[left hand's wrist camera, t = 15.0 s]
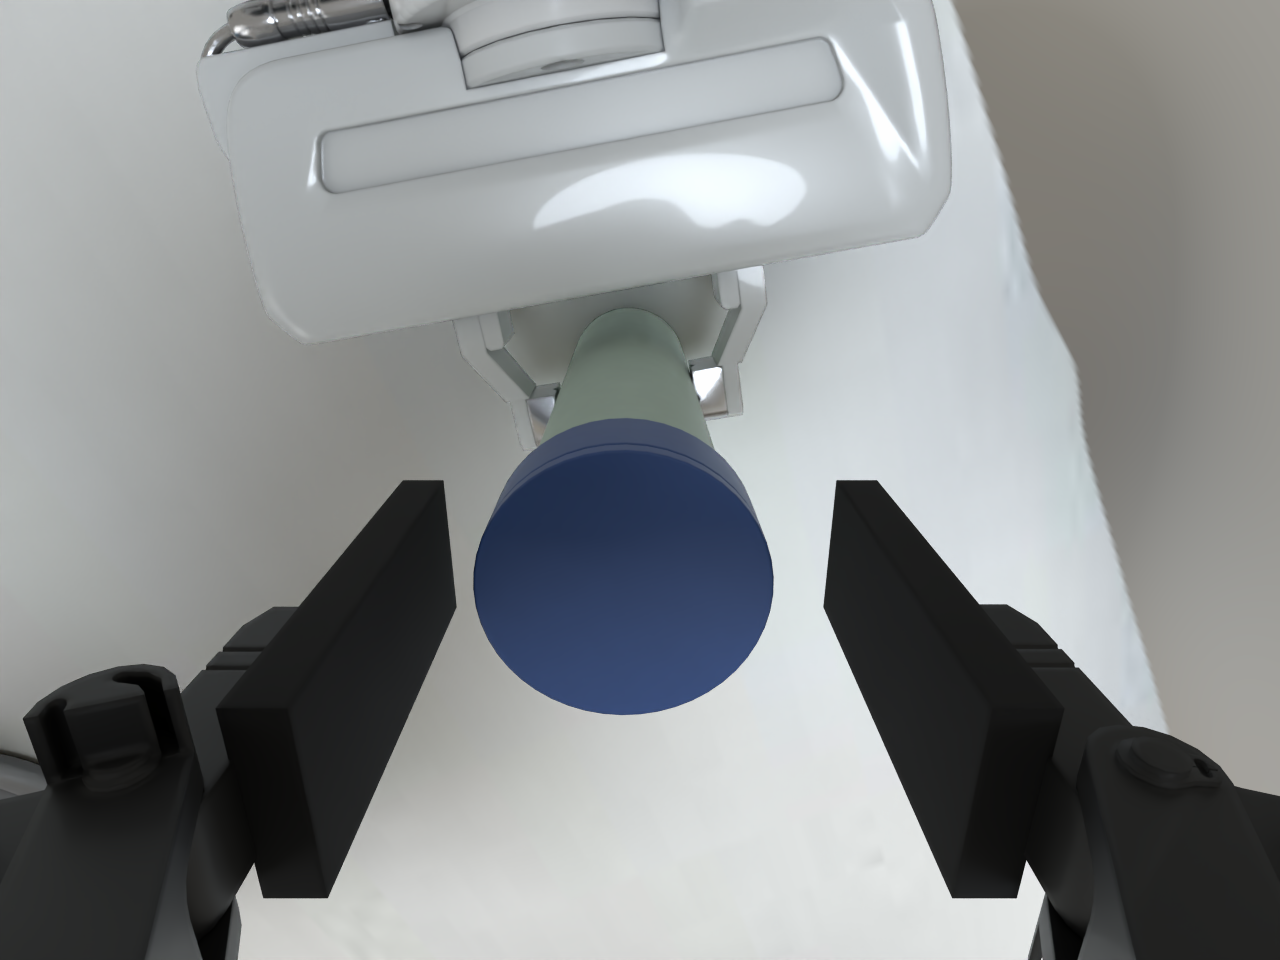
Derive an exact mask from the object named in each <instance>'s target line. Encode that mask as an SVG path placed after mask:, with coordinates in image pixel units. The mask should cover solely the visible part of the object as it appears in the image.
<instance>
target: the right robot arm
mask: <svg viewBox="0 0 1280 960" xmlns="http://www.w3.org/2000/svg"><path fill="white" fill-rule="evenodd" d="M227 22H228V23H227V24H225V25H223V26H222V27H221V28H219V29H218V30H217V31H215V32H214V33H213V34H212V36H211V37H210V38H209V40H208V41H207V43H206V44H205V47H204V49H203V52H202V55H201V58H200V60H199V62H198V64H197V71H196V75H197V83H198V88H199V92H200V95H201V98H202V101H203V104H204V107H205V110H206V113H207V116H208V118H209V121H210V124H211V127H212V130H213V133H214V136H215V139H216V141H217V143H218V145H219V147H220V148H221V150H222V152H223V153H224V155H225V156H226V157H227V159H228V160H229V161H230V167H231V173H232V180H233V185H234V191H235V196H236V202H237V207H238V212H239V217H240V222H241V226H242V231H243V235H244V240H245V244H246V248H247V252H248V256H249V260H250V264H251V268H252V271H253V275H254V278H255V282H256V286H257V289H258V293H259V296H260V299H261V302H262V305H263V308H264V310H265V312H266V314H267V316H268V317H269V318H270V320H271V321H272V322H274V323H275V324H276V325H277V326H279V327H280V328H281V329H282V330H284V331H285V332H286V333H287V334H288V335H290V336H291V337H292V338H294V339H295V340H296V341H298V342H299V343H301V344H304V345H314V344H320V343H326V342H331V341H337V340H343V339H348V338H354V337H359V336H365V335H371V334H376V333H382V332H388V331H393V330H399V329H405V328H410V327H416V326H422V325H427V324H433V323H439V322H444V321H450V320H453V324H454V328H455V332H456V336H457V340H458V343H459V347H460V351H461V355H462V357H463V358H464V359H465V360H466V361H467V362H468V363H469V365H470V366H471V367H472V368H473V369H474V370H475V371H476V372H477V373H478V374H479V375H480V376H481V377H482V378H483V379H484V380H485V381H486V382H487V383H488V384H489V385H490V386H491V387H492V389H493V390H494V391H495V392H496V393H497V394H498V395H499V396H500V397H501V398H502V399H503V400H504V401H505V402H506V403H507V402H510V405H511V409H512V413H513V417H514V421H515V425H516V429H517V433H518V437H519V441H520V445H521V447H522V449H523V451H526V450H535V449H536V448H537V447H539V445H540V442H541V440H542V437H543V434H544V432H545V429H546V426H547V424H548V421H549V418H550V416H551V413H552V410H553V408H554V405H555V402H556V400H557V397H558V394H559V392H560V389H561V386H560V382H559V383H552V384H545V385H539V386H536V384H535V383H534V382H533V380H532V379H531V378H530V377H529V376H528V375H527V373H526V372H525V371H524V370H523V369H522V368H521V366H520V365H519V364H518V363H517V362H516V361H515V359H514V358H513V357H512V356H511V355H510V354H509V353H508V351H507V350H506V349H505V348H504V346H505V345H506V343H507V342H508V341H509V340H510V339H511V337H512V336H513V335H514V329H513V324H512V320H511V315H510V310H512V309H518V308H523V307H529V306H535V305H540V304H546V303H552V302H557V301H563V300H569V299H574V298H580V297H586V296H591V295H597V294H602V293H608V292H614V291H619V290H625V289H631V288H636V287H642V286H648V285H653V284H659V283H665V282H670V281H676V280H682V279H687V278H693V277H699V276H704V275H710V274H711V276H712V283H713V290H714V296H715V299H716V300H717V302H718V303H719V304H720V305H721V307H722V308H724V309H725V310H729V311H728V314H727V316H726V319H725V321H724V324H723V326H722V329H721V332H720V334H719V337H718V339H717V342H716V344H715V347H714V349H713V352H712V356H708V357H703V358H698V359H693V360H688V362H689V369H690V375H691V378H692V381H693V385H694V388H695V391H696V394H697V397H698V400H699V403H700V406H701V409H702V413H703V416H704V419H705V421H707V420H713V419H720V418H726V417H732V416H738V415H743V402H742V394H741V386H740V377H739V369H738V363H742V361H743V358H744V356H745V354H746V351H747V349H748V347H749V345H750V342H751V340H752V338H753V335H754V333H755V331H756V329H757V326H758V324H759V322H760V319H761V317H762V315H763V313H764V310H765V308H766V306H767V296H766V286H765V276H764V267H763V265H766V264H772V263H778V262H783V261H789V260H795V259H800V258H806V257H812V256H817V255H823V254H829V253H834V252H840V251H845V250H851V249H857V248H862V247H868V246H874V245H879V244H885V243H891V242H896V241H902V240H907V239H913V238H918V237H920V236H922V235H924V234H925V233H926V232H927V231H928V230H929V228H930V227H931V225H932V224H933V222H934V221H935V219H936V218H937V216H938V214H939V213H940V211H941V209H942V208H943V206H944V204H945V203H946V201H947V200H948V197H949V194H950V190H951V178H952V157H951V135H950V119H949V108H948V97H947V88H946V80H945V71H944V63H943V57H942V50H941V44H940V37H939V31H938V25H937V19H936V14H935V10H934V5H933V2H932V0H249V1H246V2H243V3H240V4H238V5H236V6H234V7H232V8H231V9H229V10H228V12H227ZM310 35H311V36H310ZM303 36H306V37H303ZM234 40H236V41H237V43H238V44H239V45H240V46H242V47H243V48H246V49H241V50H236V51H231V52H226V53H222V52H223V51H224V49H225V48H226V47H227V46H228V45H229V44H230V43H231V42H233V41H234Z"/></svg>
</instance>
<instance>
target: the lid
mask: <svg viewBox="0 0 1280 960" xmlns="http://www.w3.org/2000/svg"><path fill="white" fill-rule="evenodd" d="M773 579H774V576H773V568H772V560H771V556H770V552H769V549H768V545H767V542H766V539H765V537H764V534H763V532H762V529H761V526H760V524H759V521H758V519H757V516H756V513H755V511H754V508H753V506H752V503H751V501H750V498H749V496H748V494H747V492H746V489H745V487H744V485H743V484H742V482H741V480H740V479H739V477H738V476H737V474H736V472H735V471H734V470H733V469H732V468H731V466H730V465H729V464H728V463H727V462H726V460H725V459H724V458H723V457H721V456H720V455H719V454H718V453H717V452H716V451H715V450H714V449H713V448H711V447H710V446H709V445H707V444H706V443H704V442H703V441H701V440H700V439H698V438H697V437H695V436H693V435H691V434H689V433H687V432H685V431H683V430H681V429H678V428H675V427H673V426H670V425H667V424H664V423H660V422H655V421H650V420H645V419H633V418H615V419H604V420H599V421H593V422H588V423H585V424H582V425H579V426H575V427H572V428H570V429H568V430H566V431H564V432H561V433H559V434H557V435H555V436H554V437H552V438H551V439H549V440H547V441H546V442H544V443H542V444H541V445H540V446H539V447H537V448H536V449H535V450H534V451H533V452H531V453H530V454H529V455H528V456H527V457H526V458H525V459H524V460H523V461H522V462H521V464H520V465H519V466H518V467H517V468H516V469H515V471H514V472H513V474H512V475H511V477H510V478H509V480H508V481H507V483H506V485H505V487H504V489H503V491H502V493H501V495H500V497H499V500H498V502H497V504H496V506H495V509H494V511H493V513H492V515H491V518H490V520H489V522H488V524H487V527H486V529H485V531H484V534H483V536H482V538H481V541H480V545H479V548H478V551H477V554H476V560H475V566H474V581H473V590H474V597H475V604H476V609H477V612H478V616H479V619H480V622H481V625H482V627H483V629H484V631H485V634H486V636H487V638H488V640H489V642H490V643H491V645H492V646H493V648H494V649H495V651H496V653H497V654H498V655H499V657H500V658H501V659H502V660H503V661H504V663H505V664H506V665H507V666H508V667H509V668H510V669H511V670H512V671H513V672H514V673H515V674H516V675H517V676H518V677H519V678H520V679H522V680H523V681H524V682H526V683H527V684H528V685H530V686H531V687H533V688H534V689H535V690H537V691H539V692H541V693H542V694H544V695H546V696H548V697H550V698H551V699H554V700H556V701H558V702H561V703H563V704H566V705H568V706H571V707H575V708H578V709H582V710H585V711H591V712H596V713H602V714H615V715H633V714H645V713H651V712H658V711H662V710H666V709H669V708H673V707H676V706H679V705H682V704H684V703H687V702H689V701H692V700H694V699H696V698H698V697H700V696H702V695H704V694H705V693H707V692H709V691H710V690H712V689H713V688H715V687H716V686H718V685H719V684H721V683H722V682H723V681H724V680H726V679H727V678H728V677H729V676H730V675H731V674H732V673H734V672H735V671H736V670H737V669H738V668H739V666H740V665H741V664H742V663H743V662H744V661H745V660H746V658H747V657H748V656H749V654H750V653H751V651H752V650H753V648H754V647H755V645H756V644H757V642H758V640H759V638H760V636H761V634H762V632H763V630H764V628H765V625H766V622H767V619H768V616H769V613H770V609H771V603H772V598H773Z"/></svg>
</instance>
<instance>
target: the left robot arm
mask: <svg viewBox="0 0 1280 960" xmlns="http://www.w3.org/2000/svg"><path fill="white" fill-rule="evenodd" d="M455 609H456V597H455V587H454V578H453V568H452V558H451V549H450V539H449V529H448V520H447V510H446V500H445V490H444V481H443V480H403V481H402V482H401V483H400V485H399V486H398V487H397V488H396V489H395V491H394V492H393V493H392V494H391V496H390V497H389V498H388V499H387V500H386V502H385V503H384V504H383V505H382V506H381V508H380V509H379V510H378V511H377V513H376V514H375V515H374V516H373V517H372V519H371V520H370V521H369V522H368V523H367V525H366V526H365V527H364V528H363V530H362V531H361V532H360V533H359V534H358V536H357V537H356V538H355V539H354V540H353V542H352V543H351V544H350V545H349V547H348V548H347V549H346V550H345V551H344V553H343V554H342V555H341V556H340V557H339V559H338V560H337V561H336V562H335V564H334V565H333V566H332V567H331V568H330V570H329V571H328V572H327V573H326V574H325V576H324V577H323V578H322V579H321V581H320V582H319V583H318V584H317V585H316V587H315V588H314V589H313V590H312V591H311V593H310V594H309V595H308V596H307V598H306V599H305V600H304V601H303V602H302V604H301V605H300V606H299V607H273V608H271V609H269V610H268V611H266V612H265V613H263V614H261V615H260V616H258V617H256V618H255V619H253V620H251V621H250V622H248V623H246V624H245V625H243V626H242V627H241V628H240V629H239V630H238V632H237V633H236V634H235V635H234V636H233V637H232V638H231V639H230V640H229V641H228V642H227V644H226V645H225V646H224V647H223V652H218V653H217V654H216V656H215V657H214V658H213V659H212V660H211V661H210V662H209V663H208V664H207V665H206V670H202V671H201V672H200V673H199V674H198V675H197V676H196V677H195V678H194V680H193V681H192V682H191V683H190V684H189V685H188V686H187V687H186V688H185V689H184V690H183V692H182V693H181V694H180V690H179V687H178V683H177V679H176V675H174V674H173V673H172V672H170V671H169V670H167V669H166V668H164V667H160V666H153V665H146V664H140V665H130V666H119V667H115V668H111V669H107V670H104V671H100V672H96V673H93V674H89V675H87V676H84V677H82V678H80V679H78V680H75V681H73V682H71V683H68V684H66V685H64V686H62V687H60V688H58V689H57V690H55V691H54V692H52V693H51V694H49V695H48V696H46V697H45V698H43V699H42V700H40V701H39V702H37V703H36V705H35V706H34V707H33V708H32V709H31V710H30V711H29V712H28V713H27V715H26V716H25V717H24V718H23V721H24V724H25V726H26V729H27V732H28V734H29V737H30V740H31V742H32V745H33V748H34V751H35V753H36V756H37V759H38V761H39V764H40V765H38V764H35V763H32V762H29V761H26V760H23V759H19V758H16V757H12V756H7V755H3V754H0V960H238V951H239V943H240V934H241V919H240V912H239V907H238V904H237V900H236V896H235V895H236V893H237V892H238V890H239V888H240V886H241V885H242V883H243V881H244V879H245V878H246V876H247V874H248V873H249V871H250V869H251V867H252V866H253V864H254V863H255V867H256V871H257V875H258V879H259V883H260V887H261V891H262V895H263V898H328V896H329V894H330V892H331V890H332V887H333V885H334V883H335V881H336V878H337V876H338V874H339V872H340V869H341V867H342V865H343V862H344V860H345V858H346V856H347V853H348V851H349V849H350V847H351V844H352V842H353V840H354V838H355V835H356V833H357V831H358V829H359V826H360V824H361V822H362V820H363V817H364V815H365V813H366V811H367V808H368V806H369V804H370V801H371V799H372V797H373V795H374V792H375V790H376V788H377V786H378V783H379V781H380V779H381V777H382V774H383V772H384V770H385V768H386V765H387V763H388V761H389V759H390V756H391V754H392V752H393V750H394V747H395V745H396V743H397V741H398V738H399V736H400V734H401V731H402V729H403V727H404V725H405V722H406V720H407V718H408V716H409V713H410V711H411V709H412V707H413V704H414V702H415V700H416V698H417V695H418V693H419V691H420V689H421V686H422V684H423V682H424V680H425V677H426V675H427V673H428V670H429V668H430V666H431V664H432V661H433V659H434V657H435V655H436V652H437V650H438V648H439V646H440V643H441V641H442V639H443V637H444V634H445V632H446V630H447V628H448V625H449V623H450V621H451V619H452V616H453V614H454V612H455ZM824 609H825V612H826V614H827V616H828V619H829V621H830V623H831V625H832V628H833V630H834V632H835V634H836V637H837V639H838V641H839V643H840V646H841V648H842V650H843V652H844V655H845V657H846V659H847V661H848V664H849V666H850V668H851V670H852V673H853V675H854V677H855V680H856V682H857V684H858V686H859V689H860V691H861V693H862V695H863V698H864V700H865V702H866V704H867V707H868V709H869V711H870V713H871V716H872V718H873V720H874V722H875V725H876V727H877V729H878V731H879V734H880V736H881V738H882V741H883V743H884V745H885V747H886V750H887V752H888V754H889V756H890V759H891V761H892V763H893V765H894V768H895V770H896V772H897V774H898V777H899V779H900V781H901V783H902V786H903V788H904V790H905V792H906V795H907V797H908V799H909V801H910V804H911V806H912V808H913V811H914V813H915V815H916V817H917V820H918V822H919V824H920V826H921V829H922V831H923V833H924V835H925V838H926V840H927V842H928V844H929V847H930V849H931V851H932V853H933V856H934V858H935V860H936V862H937V865H938V867H939V869H940V872H941V874H942V876H943V878H944V881H945V883H946V885H947V887H948V890H949V892H950V894H951V896H952V898H1017V895H1018V891H1019V887H1020V883H1021V879H1022V875H1023V871H1024V867H1025V863H1026V860H1027V862H1028V863H1029V865H1030V867H1031V869H1032V870H1033V872H1034V874H1035V876H1036V877H1037V879H1038V881H1039V882H1040V884H1041V886H1042V888H1043V889H1044V891H1045V896H1044V900H1043V904H1042V907H1041V911H1040V915H1039V918H1038V922H1037V926H1036V929H1035V933H1034V937H1033V940H1032V944H1031V948H1030V951H1029V955H1028V960H1041V958H1043V960H1280V796H1276V795H1272V794H1267V793H1262V792H1257V791H1253V790H1248V789H1244V788H1240V787H1236V786H1234V784H1233V783H1232V782H1231V780H1230V779H1229V778H1228V776H1227V775H1226V774H1225V772H1224V771H1223V770H1222V768H1221V767H1220V766H1219V765H1218V764H1217V763H1215V762H1214V761H1213V760H1211V759H1210V758H1209V757H1207V756H1206V755H1205V754H1203V753H1202V752H1201V751H1200V750H1198V749H1196V748H1194V747H1193V746H1191V745H1189V744H1187V743H1184V742H1183V741H1181V740H1179V739H1177V738H1175V737H1173V736H1170V735H1167V734H1164V733H1161V732H1157V731H1154V730H1151V729H1148V728H1144V727H1137V726H1132V725H1131V724H1130V723H1129V722H1128V720H1127V719H1126V718H1125V717H1124V716H1123V715H1122V714H1121V713H1120V712H1119V711H1118V710H1117V709H1116V707H1115V706H1114V705H1113V704H1112V703H1111V702H1110V701H1109V700H1108V699H1107V698H1106V697H1105V696H1104V694H1103V693H1102V692H1101V691H1100V690H1099V689H1098V688H1097V687H1096V686H1095V685H1094V684H1093V683H1092V681H1091V680H1090V679H1089V678H1088V677H1087V676H1086V675H1085V674H1084V673H1083V672H1082V671H1081V670H1080V668H1075V666H1074V662H1073V661H1072V660H1071V659H1070V658H1069V657H1068V655H1067V654H1066V653H1065V652H1064V651H1063V650H1062V649H1058V645H1057V644H1056V643H1055V641H1054V640H1053V639H1052V638H1051V637H1050V636H1049V635H1048V634H1047V633H1046V632H1045V631H1044V630H1043V628H1042V627H1041V626H1040V625H1039V624H1038V623H1037V622H1035V621H1033V620H1032V619H1030V618H1028V617H1027V616H1025V615H1023V614H1022V613H1020V612H1018V611H1017V610H1015V609H1013V608H1012V607H1010V606H1008V605H1007V604H978V602H977V601H976V600H975V599H974V598H973V596H972V595H971V594H970V593H969V591H968V590H967V589H966V588H965V587H964V585H963V584H962V583H961V582H960V581H959V579H958V578H957V577H956V576H955V574H954V573H953V572H952V571H951V570H950V568H949V567H948V566H947V565H946V564H945V562H944V561H943V560H942V559H941V557H940V556H939V555H938V554H937V553H936V551H935V550H934V549H933V548H932V547H931V545H930V544H929V543H928V542H927V540H926V539H925V538H924V537H923V536H922V534H921V533H920V532H919V531H918V530H917V528H916V527H915V526H914V525H913V523H912V522H911V521H910V520H909V519H908V517H907V516H906V515H905V514H904V513H903V511H902V510H901V509H900V508H899V506H898V505H897V504H896V503H895V502H894V500H893V499H892V498H891V497H890V496H889V494H888V493H887V492H886V491H885V489H884V488H883V487H882V486H881V485H880V483H879V482H878V481H877V480H837V481H836V490H835V500H834V510H833V520H832V529H831V539H830V549H829V558H828V568H827V578H826V587H825V597H824Z"/></svg>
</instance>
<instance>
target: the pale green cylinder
mask: <svg viewBox="0 0 1280 960" xmlns="http://www.w3.org/2000/svg"><path fill="white" fill-rule="evenodd" d="M615 418H633V419H645V420H650V421H655V422H660V423H664V424H667V425H670V426H673V427H675V428H678V429H681V430H683V431H685V432H687V433H689V434H691V435H693V436H695V437H697V438H698V439H700V440H701V441H703V442H704V443H706V444H707V445H709V446H710V447H711V448H713V449H714V447H713V444H712V441H711V437H710V434H709V431H708V428H707V425H706V422H705V419H704V416H703V413H702V409H701V406H700V403H699V400H698V397H697V394H696V391H695V388H694V385H693V381H692V378H691V375H690V372H689V369H688V366H687V363H686V360H685V357H684V353H683V350H682V347H681V344H680V342H679V339H678V337H677V336H676V334H675V332H674V331H673V330H672V328H671V327H670V326H669V325H668V324H667V323H666V322H665V321H664V320H663V319H661V318H660V317H658V316H657V315H655V314H653V313H651V312H648V311H645V310H642V309H637V308H621V309H615V310H612V311H609V312H607V313H605V314H603V315H601V316H599V317H598V318H596V319H595V320H594V321H593V322H592V323H590V324H589V326H588V327H587V328H586V329H585V330H584V332H583V333H582V335H581V337H580V339H579V341H578V343H577V346H576V349H575V352H574V354H573V357H572V360H571V362H570V365H569V368H568V370H567V373H566V376H565V378H564V381H563V384H562V386H561V389H560V392H559V394H558V397H557V400H556V402H555V405H554V408H553V410H552V413H551V416H550V418H549V421H548V424H547V426H546V429H545V432H544V434H543V437H542V440H541V442H540V445H541V444H542V443H544V442H546V441H547V440H549V439H551V438H552V437H554V436H555V435H557V434H559V433H561V432H564V431H566V430H568V429H570V428H572V427H575V426H579V425H582V424H585V423H588V422H593V421H599V420H604V419H615ZM540 445H539V446H540Z"/></svg>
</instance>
